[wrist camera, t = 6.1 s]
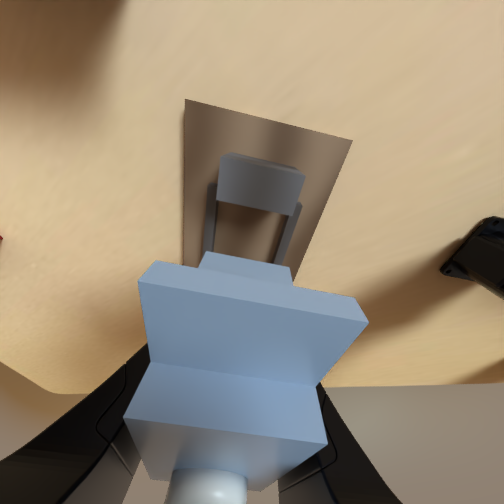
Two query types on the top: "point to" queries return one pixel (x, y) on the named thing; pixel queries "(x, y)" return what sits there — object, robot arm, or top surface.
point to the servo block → (233, 375)
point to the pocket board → (247, 219)
